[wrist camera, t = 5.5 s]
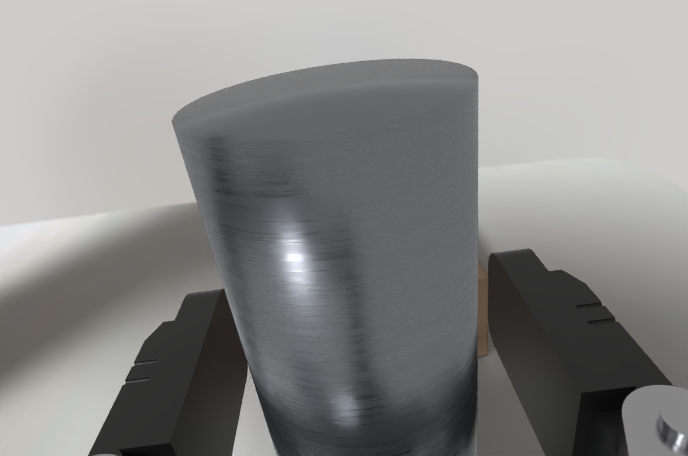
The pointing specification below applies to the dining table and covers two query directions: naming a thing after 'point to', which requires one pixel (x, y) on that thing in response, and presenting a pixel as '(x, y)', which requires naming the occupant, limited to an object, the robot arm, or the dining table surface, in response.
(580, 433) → the robot arm
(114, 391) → the dining table surface
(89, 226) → the dining table surface
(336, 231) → the rod
